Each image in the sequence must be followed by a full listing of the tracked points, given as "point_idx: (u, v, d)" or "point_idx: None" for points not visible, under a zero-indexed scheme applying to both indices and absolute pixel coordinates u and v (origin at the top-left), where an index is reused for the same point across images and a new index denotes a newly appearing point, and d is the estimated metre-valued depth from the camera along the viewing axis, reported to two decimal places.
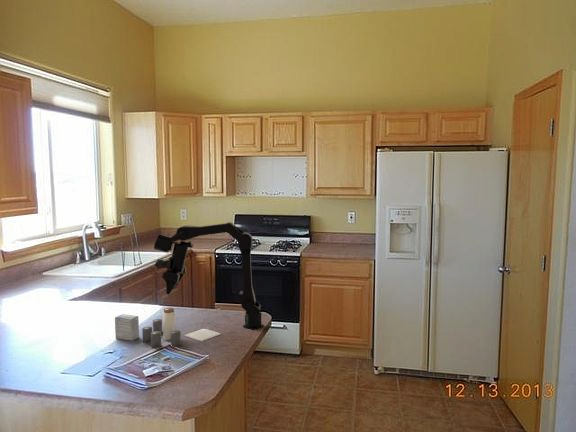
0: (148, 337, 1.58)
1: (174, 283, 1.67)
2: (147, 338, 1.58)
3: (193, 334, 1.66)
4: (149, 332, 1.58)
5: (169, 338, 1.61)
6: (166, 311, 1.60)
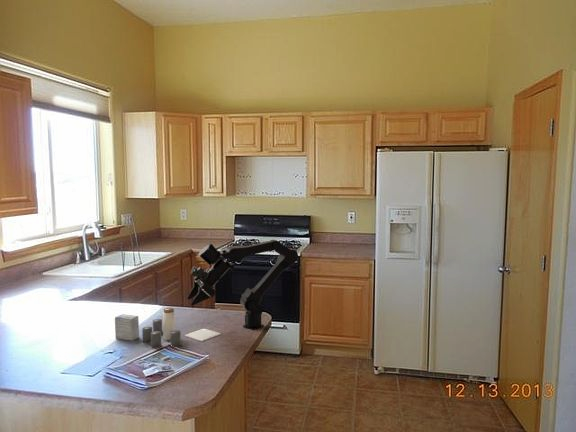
0: (148, 337, 1.58)
1: (205, 298, 1.61)
2: (148, 338, 1.58)
3: (193, 334, 1.66)
4: (149, 332, 1.58)
5: (169, 338, 1.61)
6: (166, 311, 1.60)
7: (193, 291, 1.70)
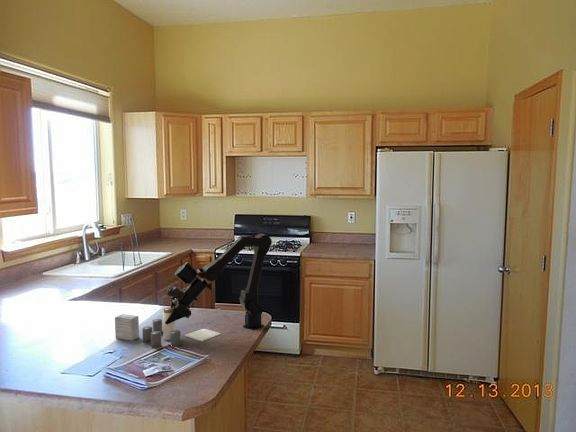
0: (148, 337, 1.58)
1: (180, 316, 1.60)
2: (148, 338, 1.58)
3: (193, 334, 1.66)
4: (149, 332, 1.58)
5: (169, 338, 1.61)
6: (166, 311, 1.60)
7: None
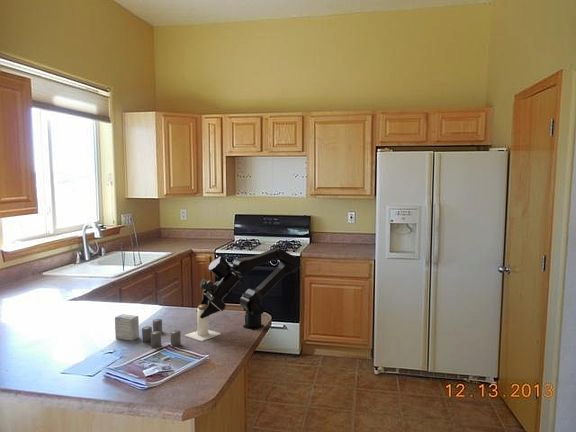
0: (149, 337, 1.58)
1: (215, 311, 1.61)
2: (149, 337, 1.58)
3: (193, 334, 1.66)
4: (150, 332, 1.59)
5: (203, 334, 1.64)
6: (201, 308, 1.63)
7: None
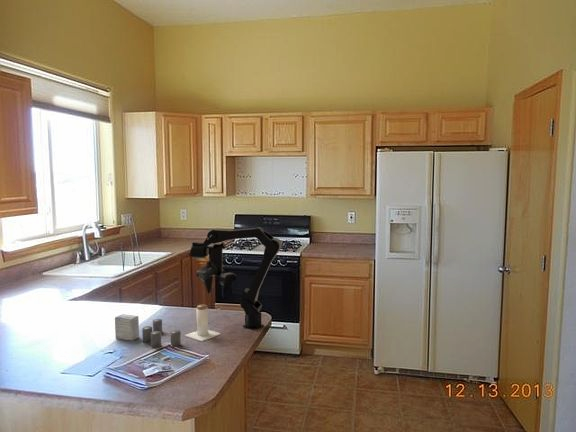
0: None
1: (229, 283, 1.75)
2: (150, 337, 1.59)
3: (193, 334, 1.66)
4: (151, 331, 1.59)
5: (203, 334, 1.64)
6: (200, 308, 1.63)
7: (208, 285, 1.80)
